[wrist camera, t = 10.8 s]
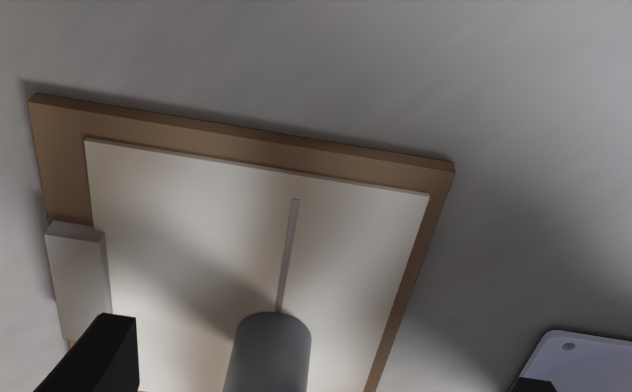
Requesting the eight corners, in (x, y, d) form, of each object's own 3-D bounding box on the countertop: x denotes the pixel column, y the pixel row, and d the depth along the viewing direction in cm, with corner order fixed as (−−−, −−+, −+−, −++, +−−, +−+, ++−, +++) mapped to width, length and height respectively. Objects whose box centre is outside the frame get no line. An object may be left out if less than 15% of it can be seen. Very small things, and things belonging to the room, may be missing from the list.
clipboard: (453, 162, 20) (458, 187, 19) (360, 420, 30) (360, 447, 28) (35, 93, 19) (15, 114, 18) (82, 378, 29) (71, 404, 28)
